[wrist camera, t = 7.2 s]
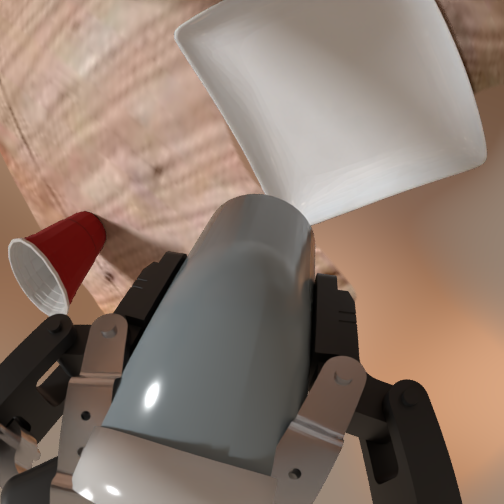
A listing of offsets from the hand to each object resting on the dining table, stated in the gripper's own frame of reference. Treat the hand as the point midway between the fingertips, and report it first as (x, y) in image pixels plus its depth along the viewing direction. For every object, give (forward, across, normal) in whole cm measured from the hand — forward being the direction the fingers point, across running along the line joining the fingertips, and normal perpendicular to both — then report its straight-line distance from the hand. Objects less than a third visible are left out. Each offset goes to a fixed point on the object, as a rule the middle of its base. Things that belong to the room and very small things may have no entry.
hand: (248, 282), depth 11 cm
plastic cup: (+18, +25, +11) cm, 33 cm away
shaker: (+3, 0, 0) cm, 3 cm away
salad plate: (+18, -4, -8) cm, 20 cm away
